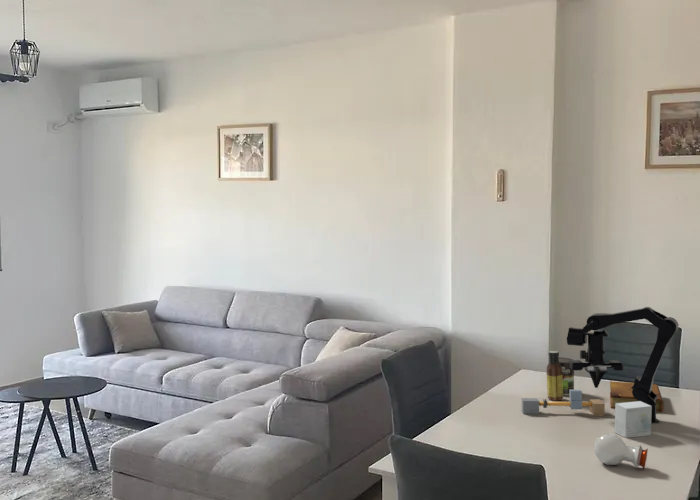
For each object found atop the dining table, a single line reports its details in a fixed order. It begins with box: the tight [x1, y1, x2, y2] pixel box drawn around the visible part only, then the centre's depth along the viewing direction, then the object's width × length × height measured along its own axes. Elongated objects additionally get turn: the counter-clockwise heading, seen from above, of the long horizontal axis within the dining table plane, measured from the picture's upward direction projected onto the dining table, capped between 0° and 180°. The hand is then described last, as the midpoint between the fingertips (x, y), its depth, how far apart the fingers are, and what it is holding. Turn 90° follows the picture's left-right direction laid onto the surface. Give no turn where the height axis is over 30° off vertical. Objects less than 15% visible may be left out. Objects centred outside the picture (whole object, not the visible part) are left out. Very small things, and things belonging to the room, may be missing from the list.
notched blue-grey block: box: [568, 389, 583, 410], centre depth 260 cm, size 4×3×7 cm
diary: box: [609, 380, 664, 413], centre depth 273 cm, size 23×19×6 cm
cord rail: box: [521, 397, 606, 417], centre depth 260 cm, size 30×6×5 cm, turn 84°
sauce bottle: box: [546, 350, 564, 402], centre depth 279 cm, size 7×6×20 cm
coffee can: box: [558, 356, 575, 396], centre depth 289 cm, size 10×10×14 cm
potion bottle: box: [593, 433, 649, 470], centre depth 206 cm, size 9×10×15 cm
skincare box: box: [613, 401, 652, 439], centre depth 235 cm, size 10×6×10 cm, turn 105°
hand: (596, 387), depth 259 cm, fingers closed
